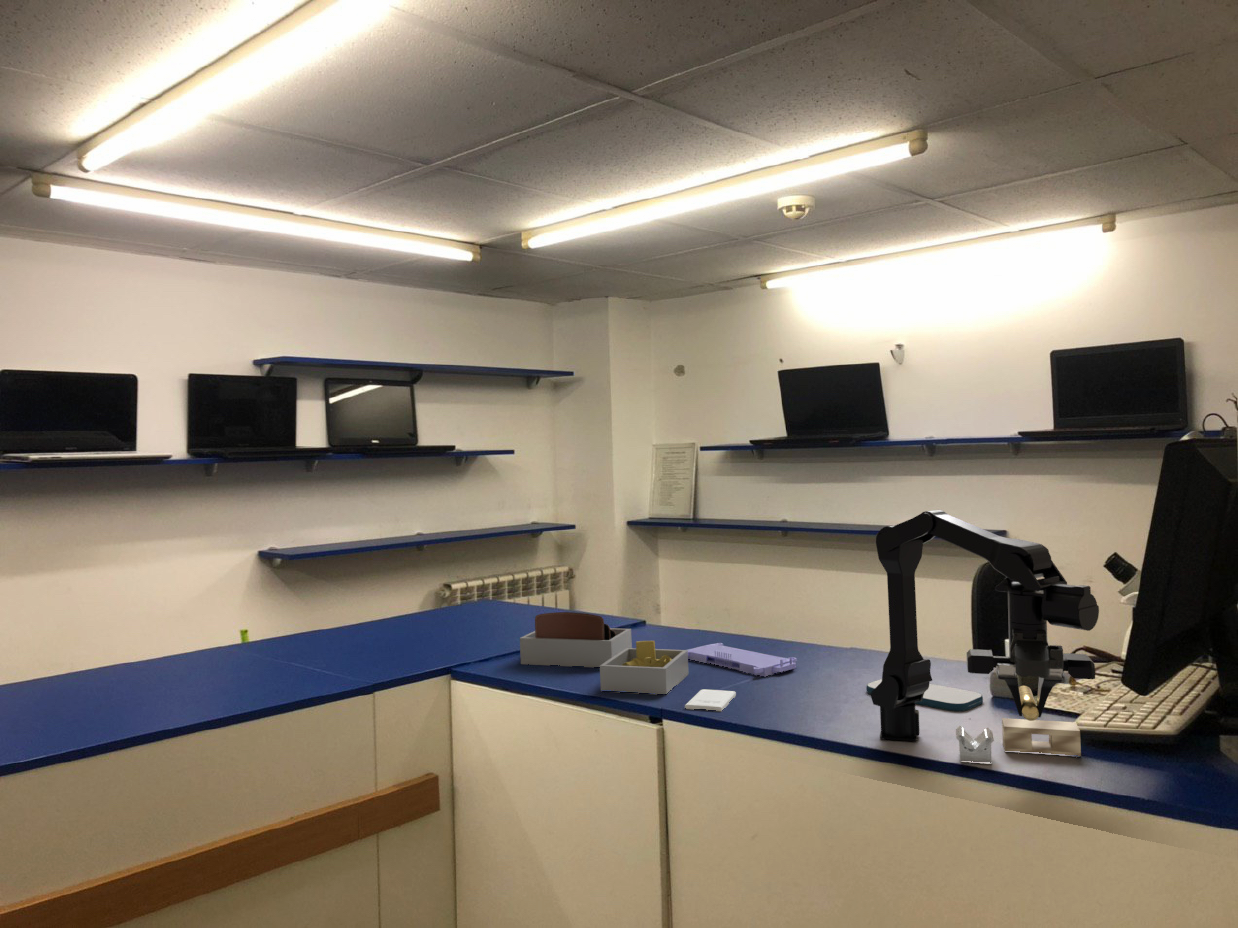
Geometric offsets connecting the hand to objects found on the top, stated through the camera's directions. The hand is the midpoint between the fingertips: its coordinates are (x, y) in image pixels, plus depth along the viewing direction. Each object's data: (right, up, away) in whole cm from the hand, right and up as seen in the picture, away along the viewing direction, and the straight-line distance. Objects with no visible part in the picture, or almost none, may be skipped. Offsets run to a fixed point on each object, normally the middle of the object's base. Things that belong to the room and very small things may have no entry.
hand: (1029, 716), depth 146 cm
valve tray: (-61, -11, +68) cm, 92 cm away
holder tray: (-78, -12, +96) cm, 124 cm away
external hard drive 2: (-1, -10, +47) cm, 48 cm away
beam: (+7, -9, +11) cm, 16 cm away
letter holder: (-78, -12, +94) cm, 123 cm away
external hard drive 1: (-47, -12, +50) cm, 69 cm away
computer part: (-36, -11, +83) cm, 91 cm away
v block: (-6, -10, +8) cm, 14 cm away
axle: (+1, +1, +4) cm, 4 cm away
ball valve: (-59, -12, +69) cm, 91 cm away
